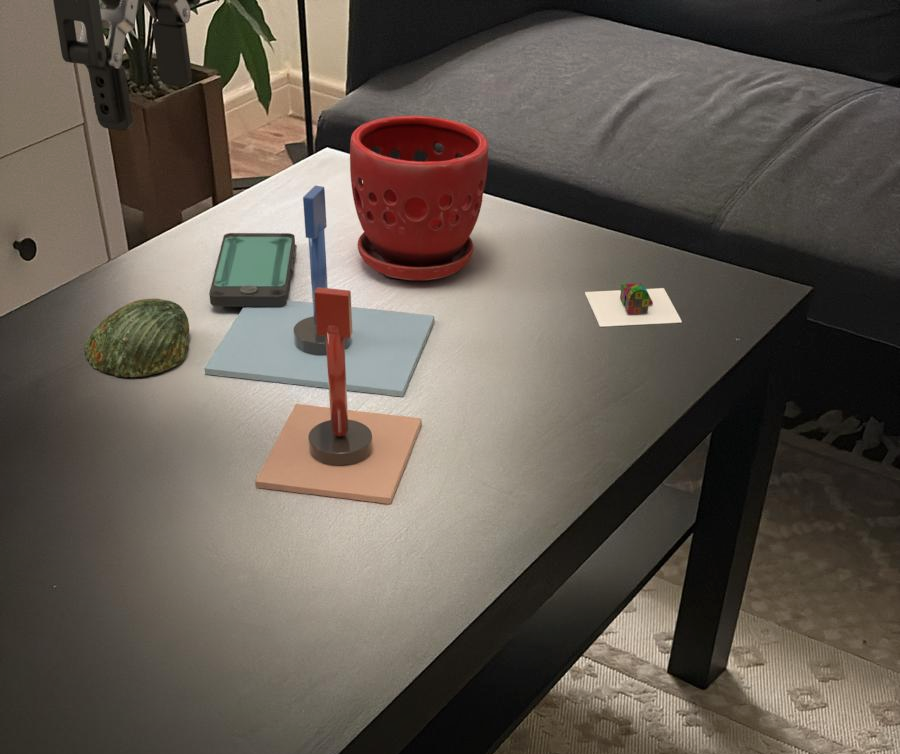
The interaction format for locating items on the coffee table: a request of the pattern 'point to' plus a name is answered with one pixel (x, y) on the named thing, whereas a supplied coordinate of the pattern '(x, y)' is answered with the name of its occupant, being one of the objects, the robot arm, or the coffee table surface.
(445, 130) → the flower pot
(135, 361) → the seashell
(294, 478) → the orange mat
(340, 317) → the red rod on disc
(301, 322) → the blue rod on disc
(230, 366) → the blue mat
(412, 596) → the coffee table surface
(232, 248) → the smartphone
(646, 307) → the white paper mat
